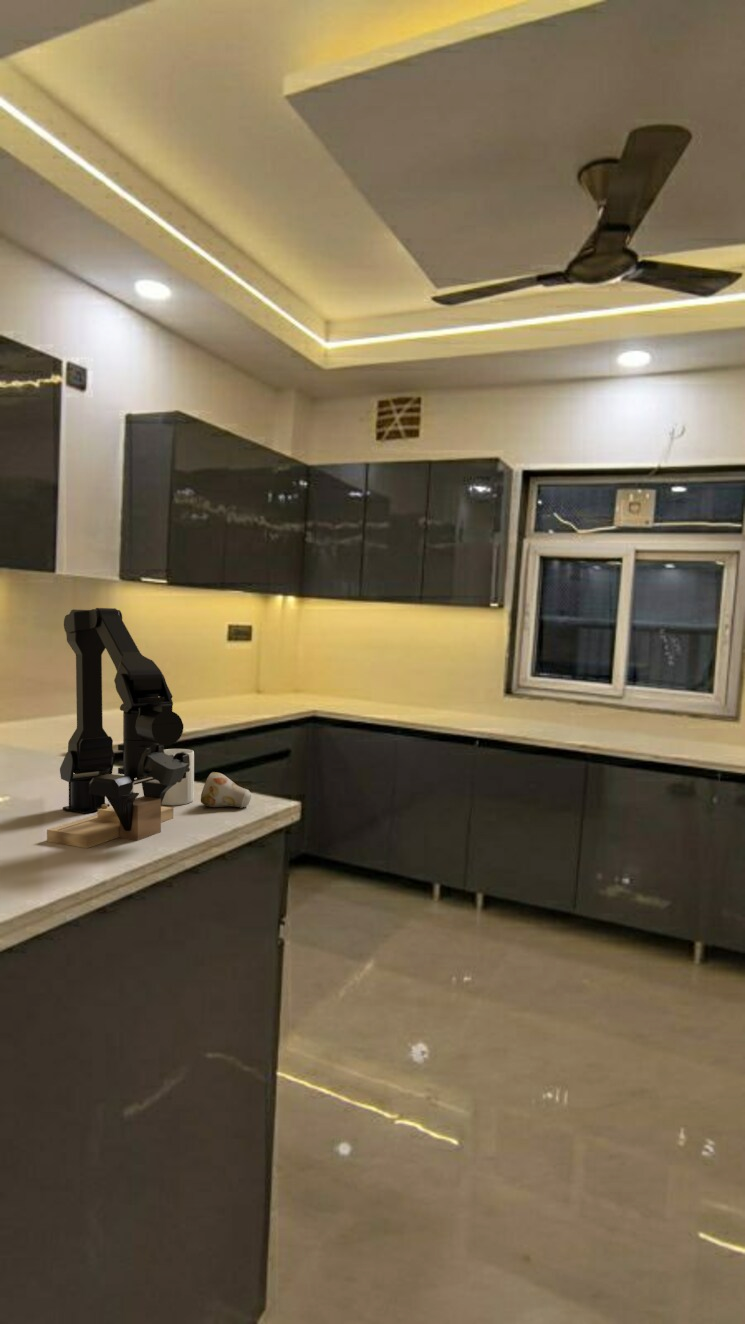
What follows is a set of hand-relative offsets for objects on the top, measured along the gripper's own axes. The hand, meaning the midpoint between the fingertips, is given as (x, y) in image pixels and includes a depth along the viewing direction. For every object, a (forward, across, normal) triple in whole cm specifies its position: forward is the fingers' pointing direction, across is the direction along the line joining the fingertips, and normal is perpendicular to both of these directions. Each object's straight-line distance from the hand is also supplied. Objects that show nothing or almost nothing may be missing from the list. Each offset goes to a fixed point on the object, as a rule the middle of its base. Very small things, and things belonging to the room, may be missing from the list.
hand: (140, 826), depth 132 cm
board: (+2, +1, +7) cm, 7 cm away
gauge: (+2, 0, +3) cm, 4 cm away
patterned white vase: (+2, +24, -1) cm, 25 cm away
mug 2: (+2, +25, +12) cm, 28 cm away
